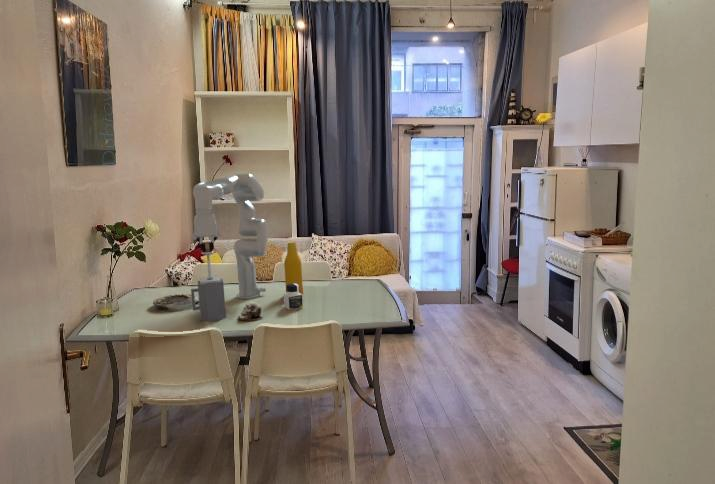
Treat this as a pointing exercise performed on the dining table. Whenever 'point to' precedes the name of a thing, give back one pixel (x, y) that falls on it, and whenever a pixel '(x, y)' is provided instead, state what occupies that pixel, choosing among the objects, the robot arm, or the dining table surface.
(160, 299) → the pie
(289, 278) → the beer bottle
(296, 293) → the medicine bottle
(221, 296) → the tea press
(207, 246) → the plunger
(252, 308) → the skull
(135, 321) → the dining table surface
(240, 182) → the robot arm
